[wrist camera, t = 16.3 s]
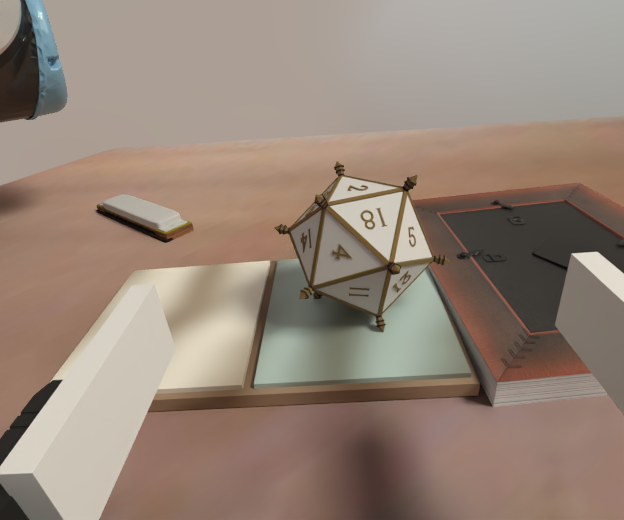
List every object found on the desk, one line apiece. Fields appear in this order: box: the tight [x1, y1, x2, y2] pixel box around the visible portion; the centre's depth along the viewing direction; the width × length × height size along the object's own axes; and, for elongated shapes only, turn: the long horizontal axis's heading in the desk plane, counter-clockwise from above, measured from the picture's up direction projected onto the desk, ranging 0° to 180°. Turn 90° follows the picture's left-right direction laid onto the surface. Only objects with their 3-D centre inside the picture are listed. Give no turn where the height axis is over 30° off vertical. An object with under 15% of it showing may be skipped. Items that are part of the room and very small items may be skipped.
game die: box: [275, 161, 450, 332], centre depth 24 cm, size 9×8×10 cm
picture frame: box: [412, 183, 624, 407], centre depth 28 cm, size 16×2×22 cm
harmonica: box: [97, 194, 194, 243], centre depth 44 cm, size 15×3×2 cm, turn 48°
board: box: [50, 259, 480, 412], centre depth 26 cm, size 22×13×1 cm, turn 88°
